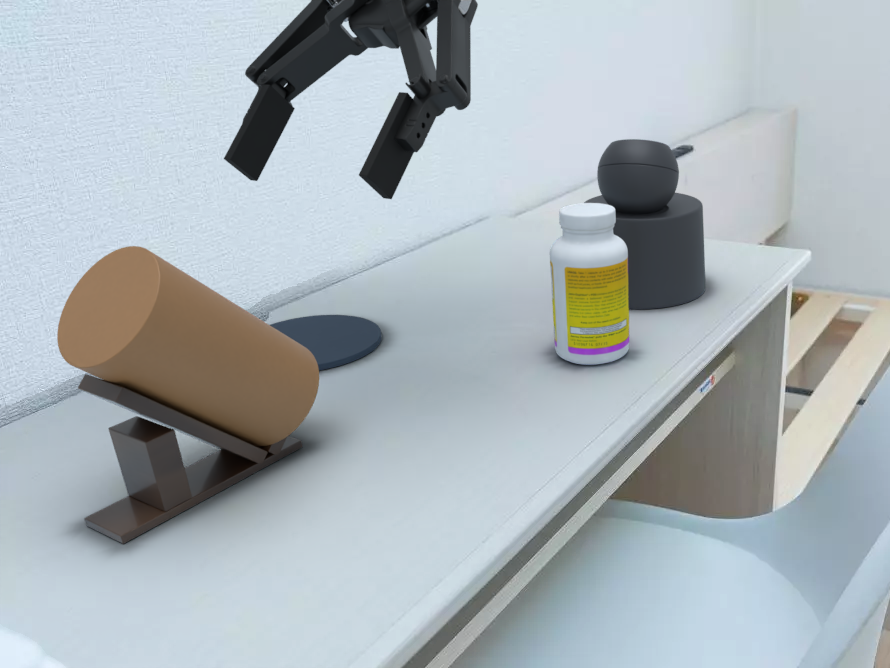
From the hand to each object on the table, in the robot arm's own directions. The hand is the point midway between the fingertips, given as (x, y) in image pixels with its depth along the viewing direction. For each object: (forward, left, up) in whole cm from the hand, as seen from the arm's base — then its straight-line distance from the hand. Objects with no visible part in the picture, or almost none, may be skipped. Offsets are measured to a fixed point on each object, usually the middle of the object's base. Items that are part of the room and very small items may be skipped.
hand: (304, 178), depth 62 cm
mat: (-13, +8, -18) cm, 24 cm away
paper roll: (0, -11, -9) cm, 14 cm away
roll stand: (0, -13, -18) cm, 22 cm away
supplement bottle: (+11, +19, -18) cm, 29 cm away
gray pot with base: (+6, +37, -18) cm, 42 cm away
